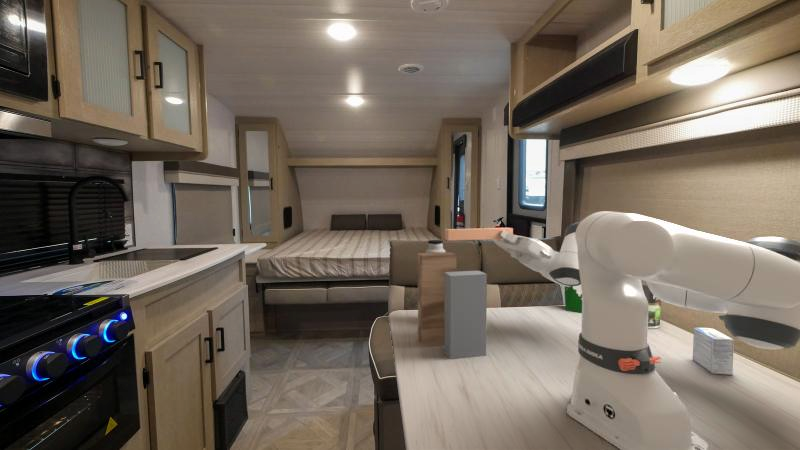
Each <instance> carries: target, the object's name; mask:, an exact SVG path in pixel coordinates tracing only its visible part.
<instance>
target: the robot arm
mask: <svg viewBox="0 0 800 450" xmlns="http://www.w3.org/2000/svg"><path fill="white" fill-rule="evenodd" d="M499 236H501V237H502V238H505V239H492V241H493V243H495V244H496V245H497V246H498V247H499V248H501V249H503V250H504V251H505V252H507V253H508V254H510V257H511V258H513V259H515V260H516V261H518V262H519V263H520V264H521V265H523V266H525V267H526V268H529V269H530V270H532V271H534V272H537V273H539V274H541V276H542V277H544V278H546V279H547V280H549V281H551V282H554V283H555V284H558V285H561V286H564V287H565V286H567V287H570V286H578V285H581V288H582V313H581V330H580V331H581V332H580V333H579V334H578V341H577V346H578V347H577V348H578V354H579V360H578V364H577V367H576V369H575V372H574V378H573V386H572V392H571V393H572V394H571V397H570V403H569V404H568V405H567V409H566V414H567V415H568V416H569V417H571V418H572V419H574V420H575V421H576V422H579V423H580V424H581V425H583V426H584V427H586V428H587V429H589V430H590V431H591V432H593V433H595V434H596V435H598V436H600V437H601V438H603V439H604V440H605V441H607V442H608V443H610V444H612V445H613V446H614V447H616V448H618V449H619V450H710V448H709V447H710V445H709V443H708V442H706V441H705V440H704V439H703V438H701V437H700V436H699V435H698V434H697V433H695V432H694V431H692V423H691V417H690V413H689V410H688V408H687V406H686V405H685V404H684V402H683V401H681V399H680V396H679V395H678V394H677V393H676V392H675V391H673V390H672V388H671V387H670V386H669V385H668V384H667V382H666V381H665V380H664V379H663V377H662V376H661V375H660V374H659V372H658V371H657V370H656V364H661V361H659V360H661V359H662V357H661V356H654V357H653V353H652V350H651V347H650V345H649V344H648V335H649V334H648V330H649V329H648V309H649V306H648V301H647V298H646V296H645V294H644V291H643V287H642V283H641V280H644V281H646V283H647V286H648V288H649V290H650V291H651V292H652V294H653V295H654V296H655V297H656V298H658V299H659V300H661V302H663V303H666V304H669V305H672V306H676V307H681V308H686V309H690V310H695V311H702V312H706V313H707V312H708V313H715V314H717V313H718V314H724V315H718V317H719V320H721V321H723V324H724V326H725V328H726V330H727V331H728V332H729V333H730V335H732V337H734V338H737V339H738V340H740V341H742V342H744V343H746V345H750V346H753V347H756V348H759V349H766V350H781V349H782V350H787V349H791V348H794V347H796V346H797V344H798V343H799V342H800V242H799V241H797V240H793V239H788V238H785V237H779V236H759V237H753V238H750V239H749V240H746V241H745V242H744V241H739V240H736V239H733V238H732V239H731V238H728V237H725V236H724V237H723V236H720V235H716V234H713V233H712V234H711V233H707V232H704V231H700V230H695V229H692V228H688V227H685V226H682V225H679V224H676V223H672V222H668V221H665V220H662V219H657V218H655V217H650V216H646V215H642V214H638V213H631V212H629V213H628V212H621V211H620V212H619V211H611V210H610V211H609V210H608V211H607V210H603V211H602V210H601V211H597V212H593V213H592V214H589V215H588V216H586V217H585V218H584V219H582V220H581V221H579V220H578V221H576V222H574V223H572V224H570V225H568V226H567V227H566V228H565V231H564V234H563V241H562V244H561V247H560V250H559V251H556V250H554V249H553V248H552V247H551V246H550V245H548V244H546V243H545V242H543V241H541V240H539V239H538V238H534V237H533V238H531V237H527V236H523V235H517V234H513V235H512V234H510V233H507V232H506V231H503V230H501V231H500V233H499Z"/></svg>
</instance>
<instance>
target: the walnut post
mask: <svg viewBox="0 0 800 450" xmlns="http://www.w3.org/2000/svg"><path fill="white" fill-rule="evenodd" d="M457 263H458V262H457V254H456V253H454V252H450V251H449V252H447V251H445V252H443V253H426V252H422V253H417V316H418V317H417V339H418V340H417V341H418V342H419V344H420V346H421V347H422V348H431V347H439V346H440V347H441V346H444V272H458V271H457Z"/></svg>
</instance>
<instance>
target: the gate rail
mask: <svg viewBox="0 0 800 450" xmlns="http://www.w3.org/2000/svg"><path fill="white" fill-rule="evenodd" d="M501 230H503V231H506V232H507V233H510V234H512V235H514V228H513V227H484V228H483V227H479V228H478V227H477V228H444V240H446V241H448V242H449V241H474V240H494V239H505V238H502V237H501V236H499V233H500V231H501Z"/></svg>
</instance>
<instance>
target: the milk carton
mask: <svg viewBox="0 0 800 450" xmlns="http://www.w3.org/2000/svg"><path fill="white" fill-rule="evenodd" d="M564 305H565V311H569V312H573V313H574V312H575V313H579V314H582V288H581V285H578V286H570V287H567V286H564Z"/></svg>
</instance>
